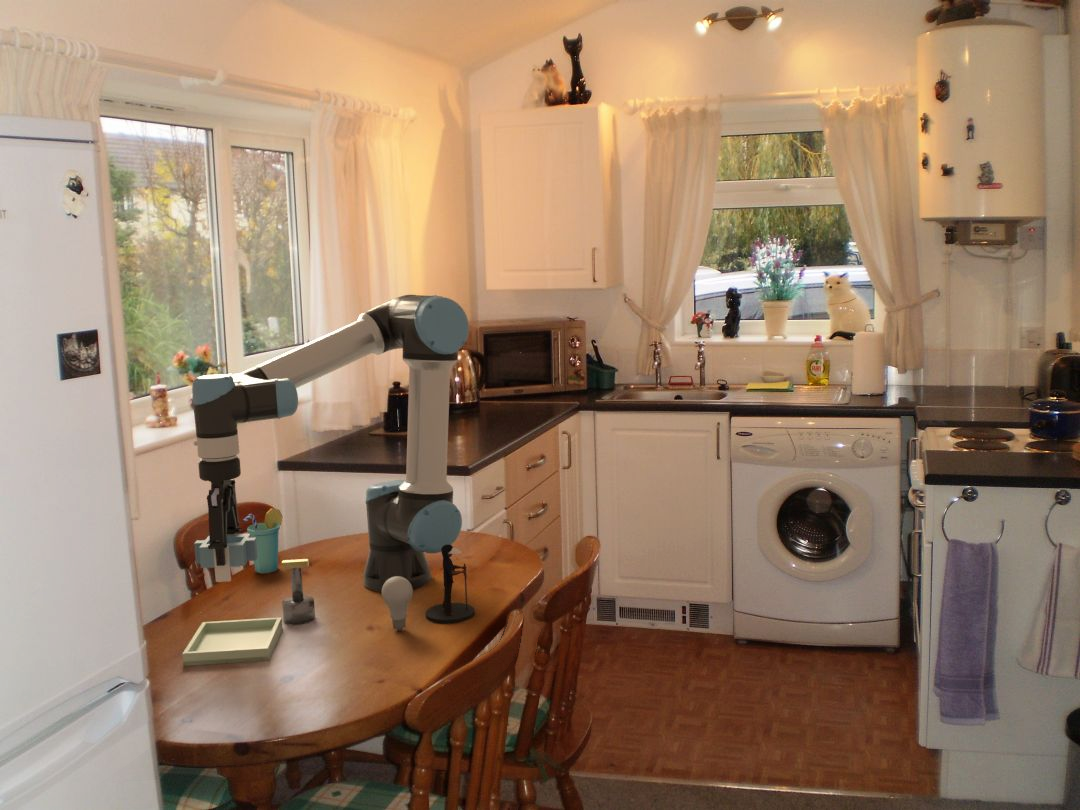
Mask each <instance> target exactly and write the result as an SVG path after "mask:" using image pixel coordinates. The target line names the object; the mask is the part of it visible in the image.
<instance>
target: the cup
mask: <svg viewBox="0 0 1080 810" xmlns="http://www.w3.org/2000/svg"><path fill="white" fill-rule="evenodd" d="M250 519H251V521H252V524H251V525H249V526H248V527H247V529H246V534H251V538H253V537H256V541H257V554H258V558H257V560H256V561H253V565H254V571H255V573H256V574H257V573H258V574H270V573H274V572H276V571H278V569H279V531H280V526H282V521H283V514H282V513H281V511H280V509H277V508H272V507H271V508H269V510H267V512H265V516H264V521H263V522H258V523H257V519H256V517H255V515H254V514H252V513H248V515H247V516H246V517H244V518H243V519H242V521H241V522H242V523H244V524H245V523H247V522H248V521H249V520H250Z"/></svg>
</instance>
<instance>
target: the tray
mask: <svg viewBox="0 0 1080 810" xmlns="http://www.w3.org/2000/svg"><path fill="white" fill-rule="evenodd" d="M282 631H283V617H282V616H280V617H265V618H263V617H262V618H248V619H231V620H220V621H219V620H216V621H202V622H201V624H200V626H199V627H198V629H197V630H196V632H194V633H195V634H194V635H193V636H192V638H191V639H190V641H189V642H188V644H187V646H186V647H185V649H184V650H183V652H182V654H181V656H182V665H183V667H188V666H203V665H205V666H206V665H217V664H220V665H221V664H232V663H233V664H235V663H238V664H239V663H250V662H251V663H252V662H263V661H264V662H266V661H267V662H268V661H270V658H271V656H272V653H273V652H274V649H275V647H276V645H277V643H278V641H279V638H280V636H281V633H282Z"/></svg>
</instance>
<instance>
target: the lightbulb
mask: <svg viewBox="0 0 1080 810" xmlns="http://www.w3.org/2000/svg"><path fill="white" fill-rule="evenodd" d="M413 593H414V589H412V585H411V583H410V582H409V581H408V580H407V579H405V578H404V577H400V576H395V577H392V578H390V579H388V580H387V581H386V582H385V583H384V585H383V587H382V591H381V598H382V600H383V601H384V603H385V604H386V606H387V608H388V610H389V614H390V618H391V621H392V628H393V629H394V630H396V631H402V630H403V629H405V628H406V624H407V623H406V622H407V621H406V620H407V616H408V614H407V612H408V606H409V604H410V602H411V600H412V597H413Z"/></svg>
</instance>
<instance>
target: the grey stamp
mask: <svg viewBox="0 0 1080 810" xmlns="http://www.w3.org/2000/svg"><path fill="white" fill-rule="evenodd" d="M309 566H310V562H309V558H302V559H301V558H300V559H299V558H298V559H284V560H282V561H281V570H290V571H289V572H290V583H291V584H290V585H291V596H290V597H286V598H284V599H283V600H282V604H281V605H282V616H283V617H282V620H283V623H285V624H286V625H291V626H298V625H299V626H300V625H304V624H309V623H311V622H314V620H315V619H316V608H315V598H314V597H313V596H310V595H305V594H304V588H303V576H302V575H303V572H302V569H308V568H309Z"/></svg>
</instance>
